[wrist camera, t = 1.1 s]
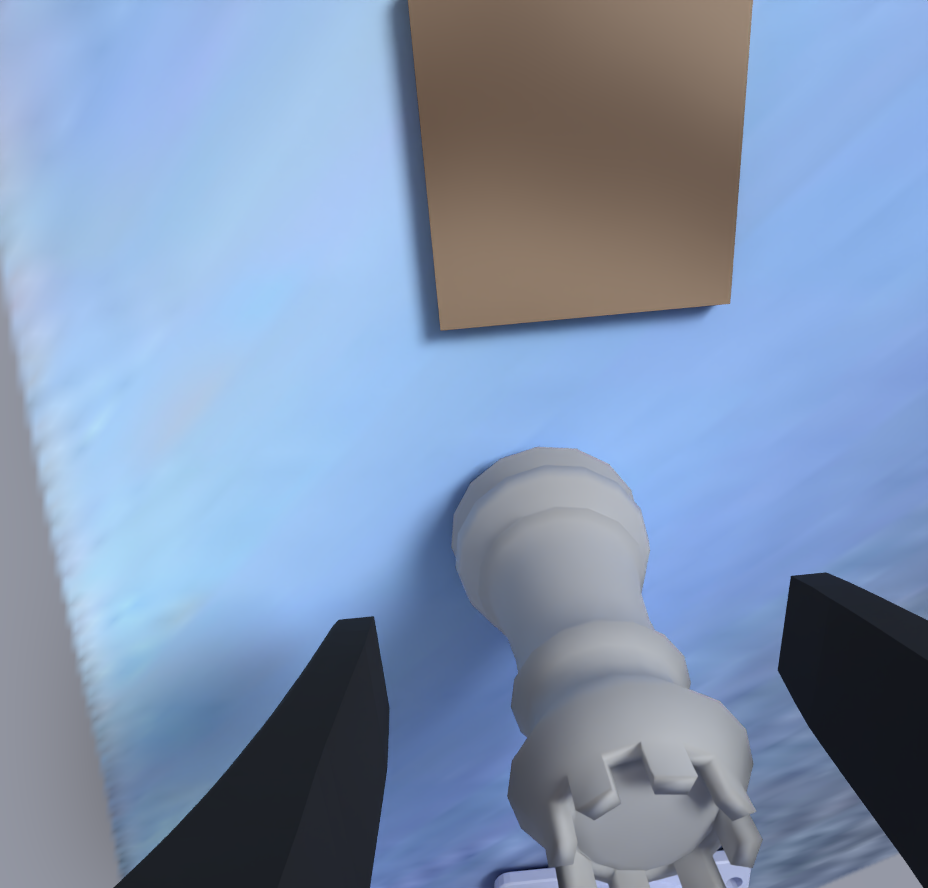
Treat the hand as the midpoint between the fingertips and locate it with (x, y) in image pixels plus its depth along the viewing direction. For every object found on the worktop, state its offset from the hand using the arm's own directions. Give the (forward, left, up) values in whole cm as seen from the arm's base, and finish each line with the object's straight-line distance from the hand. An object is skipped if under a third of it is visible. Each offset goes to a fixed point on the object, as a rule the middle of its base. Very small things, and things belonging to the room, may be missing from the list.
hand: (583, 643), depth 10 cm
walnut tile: (+8, -1, -5) cm, 9 cm away
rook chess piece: (0, 0, -5) cm, 5 cm away
